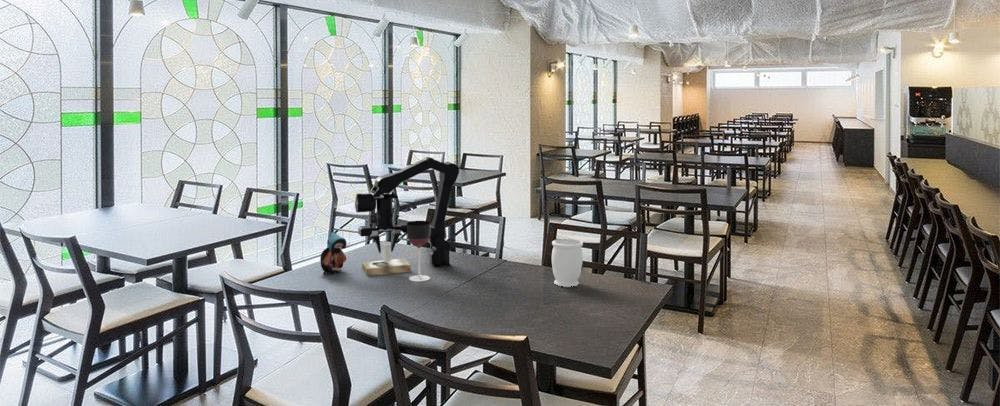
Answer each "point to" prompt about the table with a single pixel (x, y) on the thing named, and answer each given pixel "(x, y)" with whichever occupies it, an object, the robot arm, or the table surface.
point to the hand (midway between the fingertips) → (385, 252)
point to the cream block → (384, 254)
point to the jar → (567, 261)
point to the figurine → (333, 255)
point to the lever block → (386, 267)
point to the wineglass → (418, 241)
